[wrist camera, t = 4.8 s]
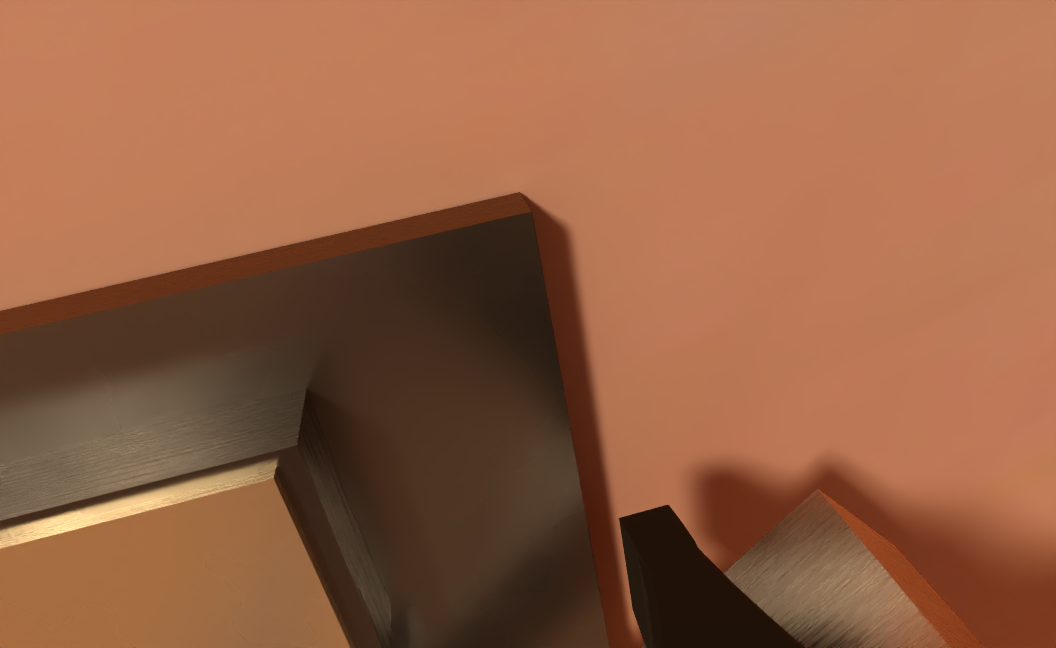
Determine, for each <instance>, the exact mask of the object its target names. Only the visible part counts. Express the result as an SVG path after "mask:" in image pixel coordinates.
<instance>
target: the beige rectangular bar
mask: <svg viewBox="0 0 1056 648" xmlns="http://www.w3.org/2000/svg"><path fill="white" fill-rule="evenodd" d="M723 574H724V575H725V576H726V577H728V578H729V579H730V580H731V581H732V582H733V583H734V584H735V585H736V586H737V587H738V588H739V589H740V590H741V591H742V592H743V593H744V594H746V595H747V596H748V597H749V598H750V599H751V600H752V601H753V602H754V603H755V604H756V605H758V606H759V607H760V608H761V609H762V610H763V611H764V612H765V613H766V614H767V615H768V616H770V617H771V618H772V619H773V620H774V621H775V622H776V623H777V624H779V625H780V626H781V627H782V628H783V629H784V630H786V631H787V632H788V633H789V634H790V635H791V636H792V637H794V638H795V639H796V640H797V641H798V642H800V643H801V644H802V645H803V646H804V647H806V648H985V647H984V646H983V645H982V644H981V642H980V641H979V640H978V639H977V638H976V637H975V636H974V635H973V633H972V632H971V631H970V630H969V629H968V628H967V627H966V626H965V624H964V623H963V622H962V621H961V620H960V619H959V618H958V617H957V615H956V614H955V613H954V612H953V611H952V610H951V609H950V607H949V606H948V605H947V604H946V603H945V602H944V601H943V600H942V598H941V597H940V596H939V595H938V594H937V593H936V592H935V591H934V589H933V588H932V587H931V586H930V585H929V584H928V583H927V582H926V580H925V579H924V578H923V577H922V576H921V575H920V574H919V573H918V571H917V570H916V569H915V568H914V567H913V566H912V565H911V564H910V562H909V561H908V560H907V559H906V558H905V557H904V556H903V555H902V553H901V552H900V551H899V550H898V549H897V548H896V547H895V546H894V545H893V544H892V543H890V542H889V541H888V540H886V539H885V538H884V537H882V536H881V535H880V534H878V533H877V532H875V531H874V530H873V529H871V528H870V527H869V526H867V525H866V524H865V523H863V522H862V521H861V520H859V519H858V518H857V517H855V516H854V515H853V514H851V513H850V512H848V511H847V510H846V509H844V508H843V507H842V506H840V505H839V504H838V503H836V502H835V501H834V500H832V499H831V498H830V497H828V496H827V495H826V494H824V493H823V492H822V491H820V490H819V489H816V490H815V491H814V492H813V493H812V494H810V495H809V496H808V497H807V498H806V499H805V500H804V501H803V502H802V503H800V504H799V505H798V506H797V507H796V508H795V509H794V510H793V511H792V512H791V513H789V514H788V515H787V516H786V517H785V518H784V519H783V520H782V521H781V522H780V523H778V524H777V525H776V526H775V527H774V528H773V529H772V530H771V531H770V532H768V533H767V534H766V535H765V536H764V537H763V538H762V539H761V540H760V541H759V542H757V543H756V544H755V545H754V546H753V547H752V548H751V549H750V550H749V551H748V552H746V553H745V554H744V555H743V556H742V557H741V558H740V559H739V560H738V561H736V562H735V563H734V564H733V565H732V566H731V567H730V568H729V569H728V570H727V571H725V572H724V573H723ZM642 648H646V646H645V645H644V646H643V647H642Z"/></svg>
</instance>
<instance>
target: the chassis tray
mask: <svg viewBox="0 0 1056 648" xmlns="http://www.w3.org/2000/svg"><path fill="white" fill-rule="evenodd" d="M0 648H610V647H609V642H608V636H607V631H606V625H605V619H604V614H603V608H602V603H601V597H600V591H599V586H598V580H597V575H596V569H595V563H594V558H593V552H592V546H591V541H590V535H589V530H588V524H587V518H586V513H585V507H584V502H583V496H582V490H581V485H580V479H579V474H578V468H577V462H576V457H575V451H574V445H573V440H572V434H571V429H570V423H569V417H568V412H567V406H566V401H565V395H564V389H563V384H562V378H561V373H560V367H559V361H558V356H557V350H556V344H555V339H554V333H553V328H552V322H551V316H550V311H549V305H548V300H547V294H546V288H545V283H544V277H543V272H542V266H541V260H540V255H539V249H538V243H537V238H536V232H535V227H534V221H533V215H532V211H531V209H530V208H529V206H528V204H527V203H526V201H525V200H524V198H523V196H522V195H521V193H520V192H518V193H514V194H510V195H505V196H501V197H497V198H492V199H488V200H483V201H479V202H475V203H470V204H466V205H462V206H457V207H453V208H449V209H444V210H440V211H435V212H431V213H427V214H422V215H418V216H414V217H409V218H405V219H401V220H396V221H392V222H387V223H383V224H379V225H374V226H370V227H366V228H361V229H357V230H352V231H348V232H344V233H339V234H335V235H331V236H326V237H322V238H318V239H313V240H309V241H304V242H300V243H296V244H291V245H287V246H283V247H278V248H274V249H269V250H265V251H261V252H256V253H252V254H248V255H243V256H239V257H235V258H230V259H226V260H221V261H217V262H213V263H208V264H204V265H200V266H195V267H191V268H187V269H182V270H178V271H173V272H169V273H165V274H160V275H156V276H152V277H147V278H143V279H138V280H134V281H130V282H125V283H121V284H117V285H112V286H108V287H104V288H99V289H95V290H90V291H86V292H82V293H77V294H73V295H69V296H64V297H60V298H55V299H51V300H47V301H42V302H38V303H34V304H29V305H25V306H21V307H16V308H12V309H7V310H3V311H0Z"/></svg>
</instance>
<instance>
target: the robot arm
mask: <svg viewBox="0 0 1056 648" xmlns="http://www.w3.org/2000/svg"><path fill="white" fill-rule="evenodd" d="M619 521H620V527H621V534H622V541H623V547H624V554H625V560H626V567H627V574H628V580H629V587H630V594H631V600H632V607H633V611H634V614H635V617H636V620H637V623H638V626H639V629H640V632H641V634H642V637H643V640H644V643H645V646H646V648H806V647H804V646H803V645H802V644H801V643H800V642H798V641H797V640H796V639H795V638H794V637H792V636H791V635H790V634H789V633H788V632H787V631H786V630H784V629H783V628H782V627H781V626H780V625H779V624H777V623H776V622H775V621H774V620H773V619H772V618H771V617H770V616H768V615H767V614H766V613H765V612H764V611H763V610H762V609H761V608H760V607H759V606H758V605H756V604H755V603H754V602H753V601H752V600H751V599H750V598H749V597H748V596H747V595H746V594H744V593H743V592H742V591H741V590H740V589H739V588H738V587H737V586H736V585H735V584H734V583H733V582H732V581H731V580H730V579H729V578H728V577H726V576H725V575H724V574H723V573H722V572H721V571H720V570H719V569H718V568H717V567H716V566H715V565H714V564H713V563H712V562H711V561H710V560H709V559H708V558H707V557H706V556H705V555H704V554H703V552H702V551H701V550H700V549H699V548H698V547H697V545H696V543H695V541H694V539H693V538H692V536H691V535H690V533H689V532H688V531H687V529H686V528H685V526H684V525H683V523H682V522H681V521H680V519H679V518H678V517H677V515H676V514H675V513H674V511H673V510H672V509H671V507H670V506H669V505H665V506H661V507H658V508H654V509H650V510H647V511H643V512H640V513H636V514H632V515H629V516H625V517H621V518H619Z"/></svg>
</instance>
